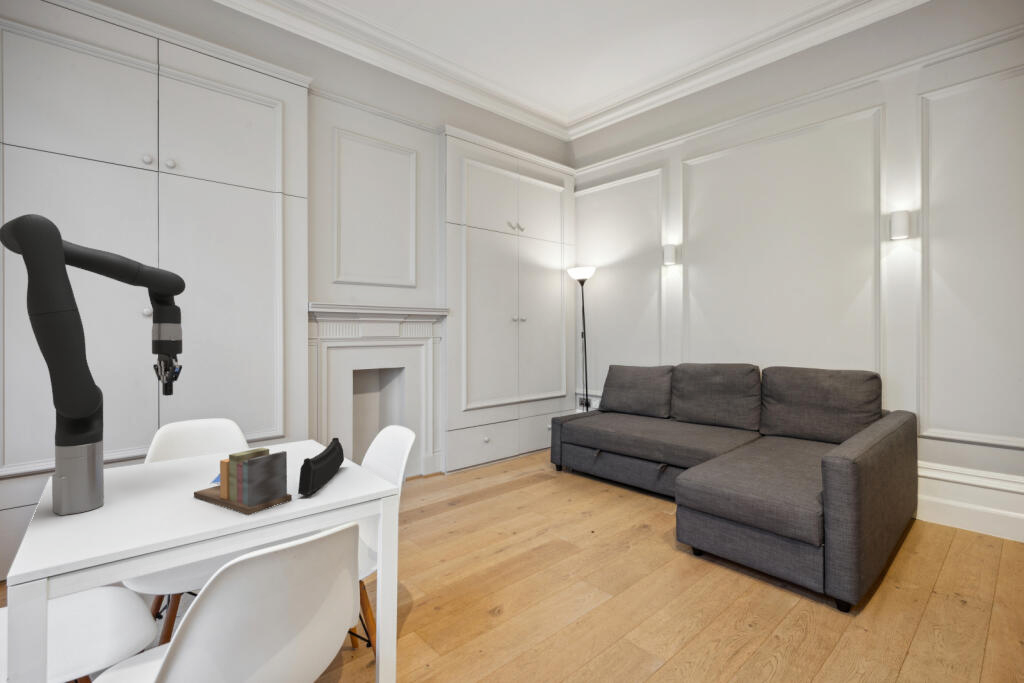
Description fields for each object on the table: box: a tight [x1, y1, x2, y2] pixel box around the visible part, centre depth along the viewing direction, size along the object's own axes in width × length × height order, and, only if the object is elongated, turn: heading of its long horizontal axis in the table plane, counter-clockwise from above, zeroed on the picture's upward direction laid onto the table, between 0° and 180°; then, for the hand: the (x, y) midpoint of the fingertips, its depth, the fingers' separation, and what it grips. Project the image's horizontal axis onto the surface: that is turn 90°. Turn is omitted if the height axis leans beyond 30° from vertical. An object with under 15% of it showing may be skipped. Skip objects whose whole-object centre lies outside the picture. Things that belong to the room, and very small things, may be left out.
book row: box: [193, 447, 293, 516], centre depth 128 cm, size 12×26×14 cm, turn 60°
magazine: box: [297, 437, 345, 496], centre depth 142 cm, size 17×3×30 cm
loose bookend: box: [219, 458, 229, 500], centre depth 128 cm, size 10×3×10 cm, turn 150°
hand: (167, 395), depth 142 cm, fingers closed
